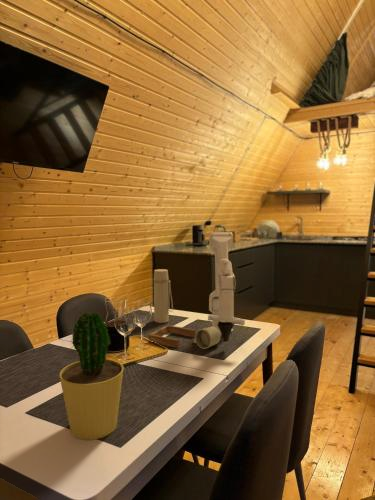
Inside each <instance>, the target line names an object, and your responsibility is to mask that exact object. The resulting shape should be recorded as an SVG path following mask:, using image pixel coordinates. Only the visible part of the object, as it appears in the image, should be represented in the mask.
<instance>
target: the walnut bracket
mask: <svg viewBox="0 0 375 500" xmlns="http://www.w3.org/2000/svg"><path fill="white" fill-rule="evenodd" d="M168 333H169V334H175V335H178V336H179V335H180V336H185V337H191V338H195V335H196V333H197V329H195V328H188V327H187V328H186V327H183V326H182V327H181V326H177V325H176V326H175V325H171V324H170V325H169V324H167V325H164V326H162V327H161V328H159V329H156V330H155V331H153V332H151V333H149V334H148V335H147V336H148V337H147V339H148V340H150V341H153V342H156V343H158V344H157V345H162V346H166V347H172V348H175V349H178V348H180V339H178V338H173V337H167V336H165V335H167V334H168ZM148 340H147V341H148ZM156 343H155V344H156Z"/></svg>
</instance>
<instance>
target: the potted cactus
mask: <svg viewBox="0 0 375 500" xmlns="http://www.w3.org/2000/svg"><path fill="white" fill-rule="evenodd" d="M100 313H101V312H99V311H97V312H96V311H95V312H84V313H83V314H81V313H79V315H80V316H79V317H78V316H76V319H75V320H76V321H75V322H74V323H73V324H74V325H73V327H71V328H72V333H71V336H70V338H71V339H70V340H69V341H68V342H70V343H71V344H72V346H71V349H73V350H75V352H77V353H78V354H76V356H78V359H79V361H74V362H72V363H70V364H68V365H66V366H65V367H63V368H62V369H61V370H60V372H59V378H60V379H59V380H60V384H61V385H60V386H61V389H62V394H63V400H64V404H65V409H66V415H67V420H68V424H69V429H70V432H71V434H72V436H73V437H75V438H76V439H80V440H84V441H85V440H88V441H89V440H98V439H101V438H104V437H106V436H108V435H110V434H112V432H114V431H115V430H116V427H117V424H118V417H119V407H120V400H121V392H122V384H123V376H124V371H125V370H124V369H125V367H124V365H123V363H121V362H120V361H118V360H116V359H111V358H107V357H106V356H107V351H108V352H110V351H111V350H110V349H109V348H108V347H109V344H110V345H112V343H110V342H111V339H110V338H111V336H112V335H113V334H112V335H111V336H110V335H109V334H111V333H108V331H110V330H111V328H110V329H108V328H109V327H107V325H106V324H107V321H104V320H105V318H102V316H101V315H100Z"/></svg>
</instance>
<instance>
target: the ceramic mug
mask: <svg viewBox="0 0 375 500" xmlns="http://www.w3.org/2000/svg"><path fill="white" fill-rule="evenodd" d="M221 337H222V335H221V334H220V332H219V330H218V329H217V328H215V327H212V326H209V327H204V328H200V329H198V330H196V335H195V337H194V339H193V340H192V341H193V343H194V344H196V345H197V346H198V347H199V348H200V349H202V350H207V349H209V348H211V347H214V346H216V345H217V344H218V343H219V342H220V341H221V339H222V338H221Z"/></svg>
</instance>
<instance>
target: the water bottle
mask: <svg viewBox="0 0 375 500" xmlns="http://www.w3.org/2000/svg"><path fill="white" fill-rule="evenodd" d="M153 271H154V272H153V311H154V312H153V314H154V315H153V318H154V322H155V323H158V324H166V323H167V322H169V320H170V317H169V316H170V315H169V313H172V312H173V309H174V307H173V304H174V303H171V308H170V302H173V298H172V297H173V296H172V295H171V294H172V290H171V289H172V288H171V280H170V279H169V270H168V269H164V268H161V269H160V268H159V269H154V270H153ZM170 299H171V301H170ZM170 309H171V310H170Z"/></svg>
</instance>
